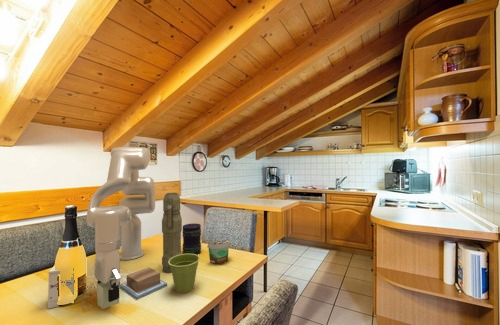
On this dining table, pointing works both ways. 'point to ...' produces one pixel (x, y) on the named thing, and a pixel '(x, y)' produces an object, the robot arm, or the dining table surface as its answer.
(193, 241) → the storage jar
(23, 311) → the dining table surface
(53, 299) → the supplement box
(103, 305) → the sage pillar block
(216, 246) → the food container
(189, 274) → the plant pot
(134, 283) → the walnut plinth
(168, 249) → the thermos
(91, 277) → the dining table surface
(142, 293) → the blueprint mat
